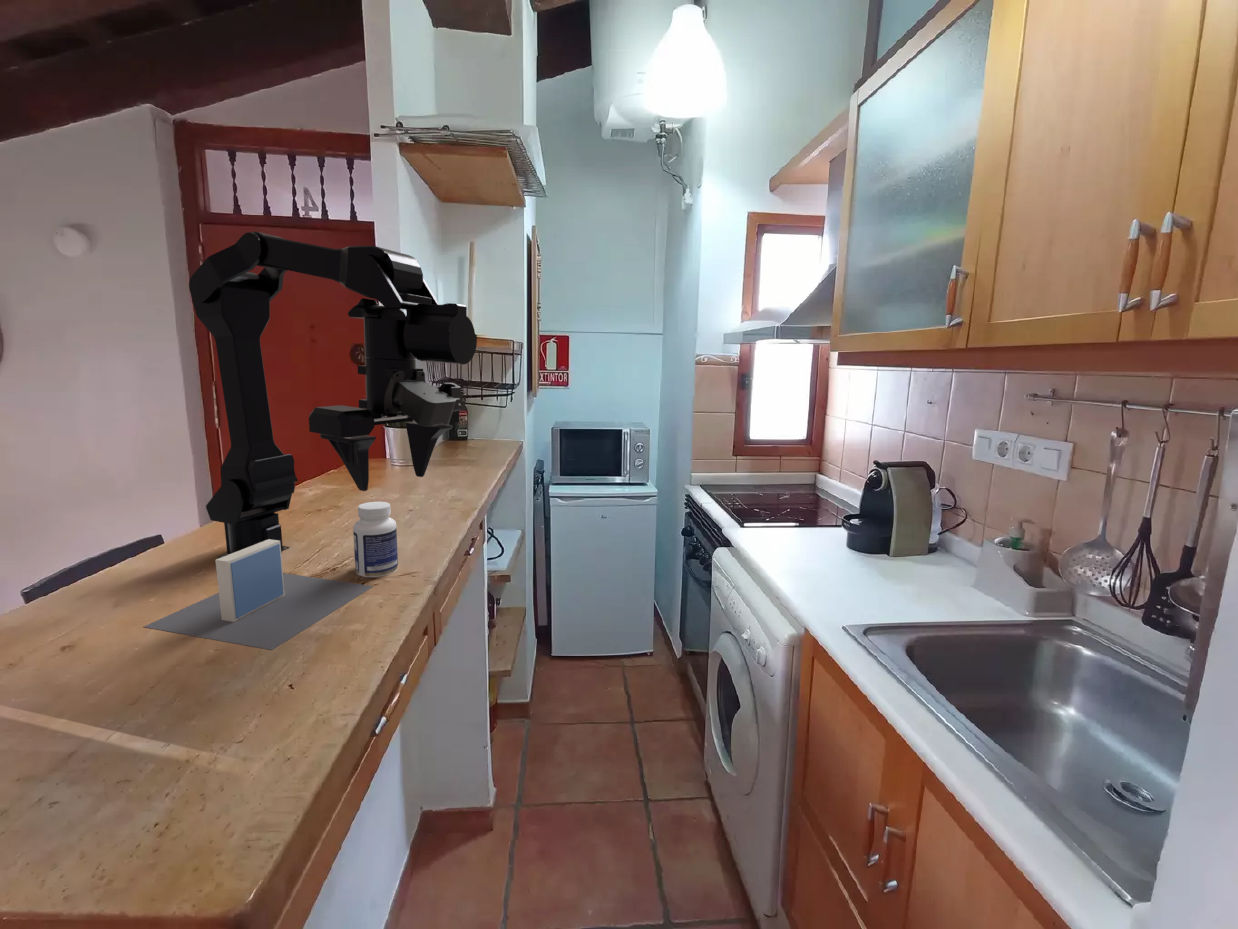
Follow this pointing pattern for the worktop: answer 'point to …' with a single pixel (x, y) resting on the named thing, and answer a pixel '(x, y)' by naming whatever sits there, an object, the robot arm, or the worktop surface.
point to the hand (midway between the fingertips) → (393, 483)
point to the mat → (265, 613)
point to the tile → (249, 579)
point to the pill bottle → (375, 540)
